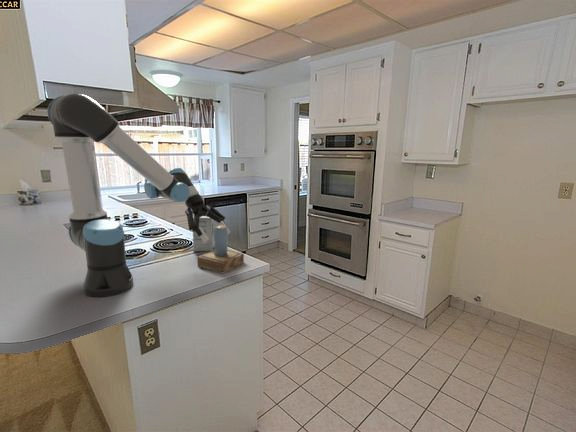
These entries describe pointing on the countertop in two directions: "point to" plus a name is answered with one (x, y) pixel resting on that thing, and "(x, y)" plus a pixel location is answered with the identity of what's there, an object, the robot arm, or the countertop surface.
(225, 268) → the walnut base
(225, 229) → the canister
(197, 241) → the supplement box
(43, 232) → the countertop surface
